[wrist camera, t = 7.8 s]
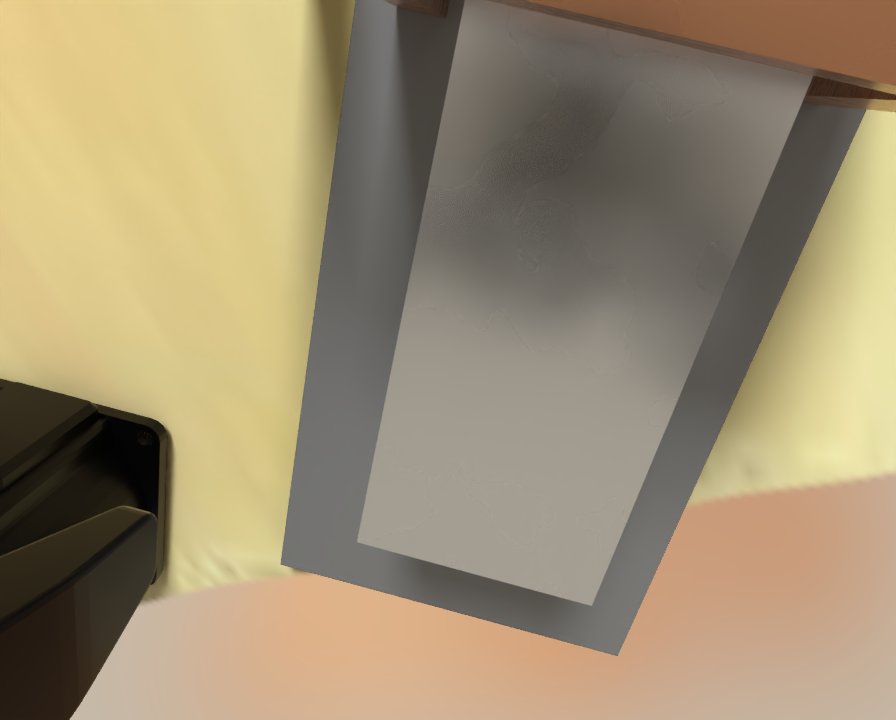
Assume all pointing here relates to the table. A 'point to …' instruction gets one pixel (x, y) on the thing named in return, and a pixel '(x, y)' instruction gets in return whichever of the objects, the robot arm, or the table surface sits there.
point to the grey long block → (562, 288)
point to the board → (380, 311)
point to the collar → (756, 36)
